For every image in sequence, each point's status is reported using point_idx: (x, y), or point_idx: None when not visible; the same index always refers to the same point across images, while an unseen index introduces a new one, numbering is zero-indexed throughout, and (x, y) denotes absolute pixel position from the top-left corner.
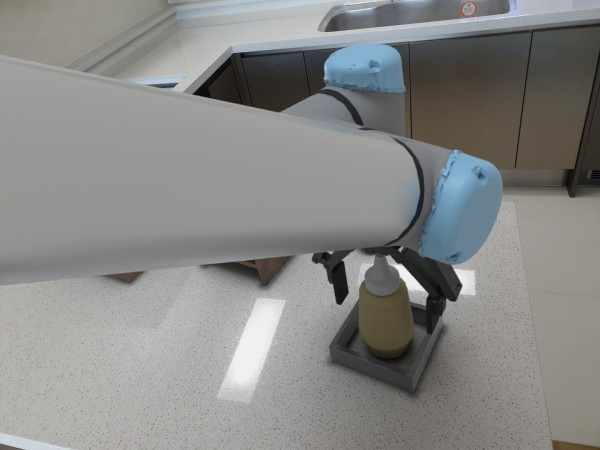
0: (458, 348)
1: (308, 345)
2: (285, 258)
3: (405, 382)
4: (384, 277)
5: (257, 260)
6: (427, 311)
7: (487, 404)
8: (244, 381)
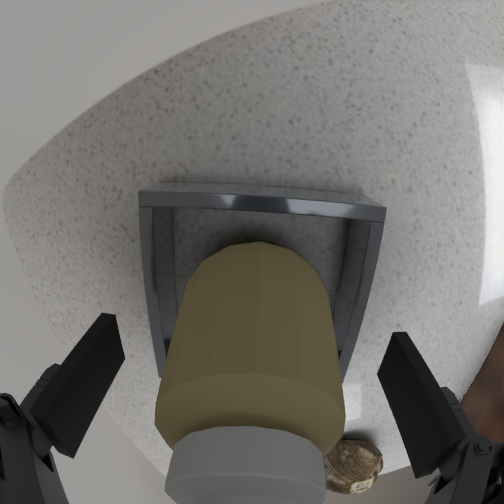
0: (127, 310)
1: (424, 219)
2: (482, 375)
3: (165, 186)
4: None
5: None
6: (66, 375)
7: (53, 218)
8: (491, 105)
